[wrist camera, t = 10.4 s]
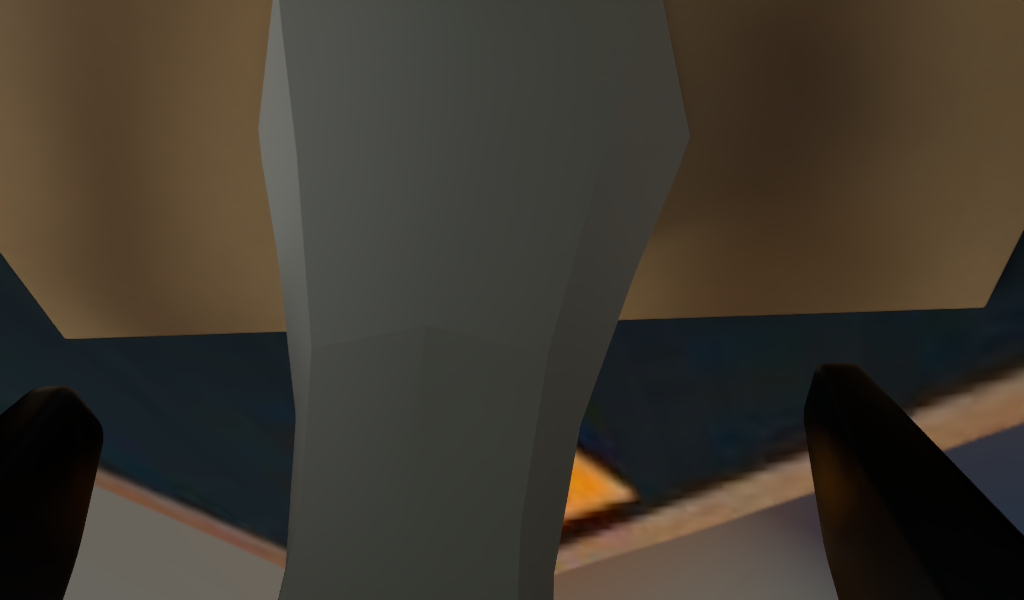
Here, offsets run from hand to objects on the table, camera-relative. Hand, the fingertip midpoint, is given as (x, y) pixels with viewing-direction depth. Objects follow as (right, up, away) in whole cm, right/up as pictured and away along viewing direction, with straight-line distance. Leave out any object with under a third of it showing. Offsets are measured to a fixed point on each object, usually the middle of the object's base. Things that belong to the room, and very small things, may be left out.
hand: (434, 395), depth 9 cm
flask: (0, +4, +4) cm, 6 cm away
